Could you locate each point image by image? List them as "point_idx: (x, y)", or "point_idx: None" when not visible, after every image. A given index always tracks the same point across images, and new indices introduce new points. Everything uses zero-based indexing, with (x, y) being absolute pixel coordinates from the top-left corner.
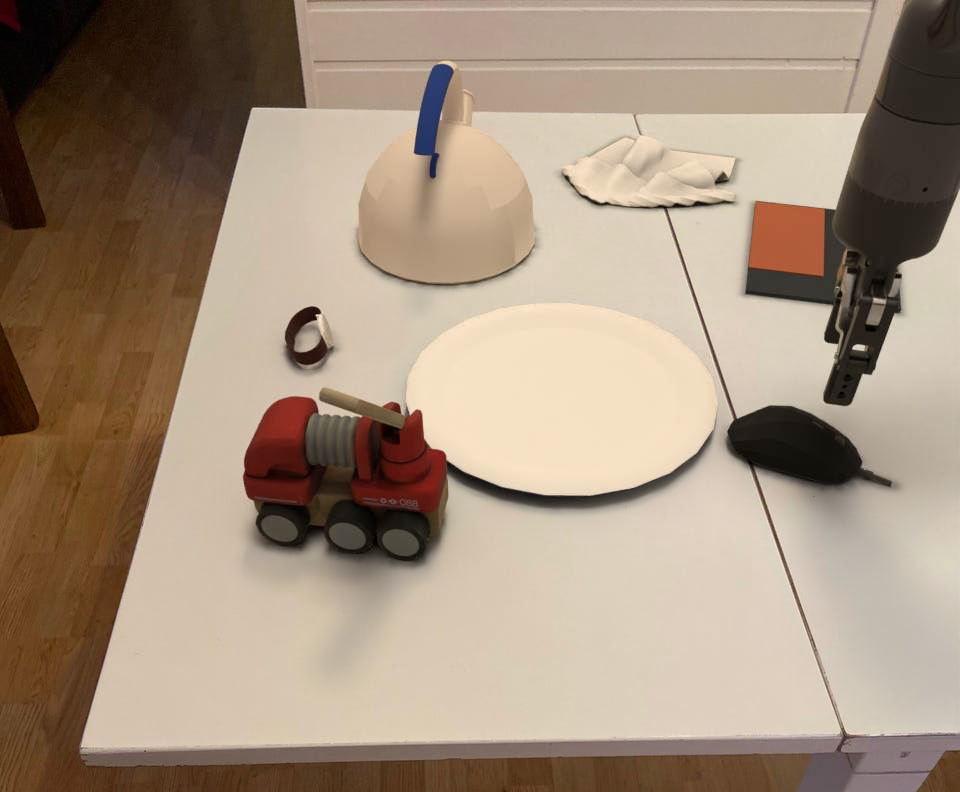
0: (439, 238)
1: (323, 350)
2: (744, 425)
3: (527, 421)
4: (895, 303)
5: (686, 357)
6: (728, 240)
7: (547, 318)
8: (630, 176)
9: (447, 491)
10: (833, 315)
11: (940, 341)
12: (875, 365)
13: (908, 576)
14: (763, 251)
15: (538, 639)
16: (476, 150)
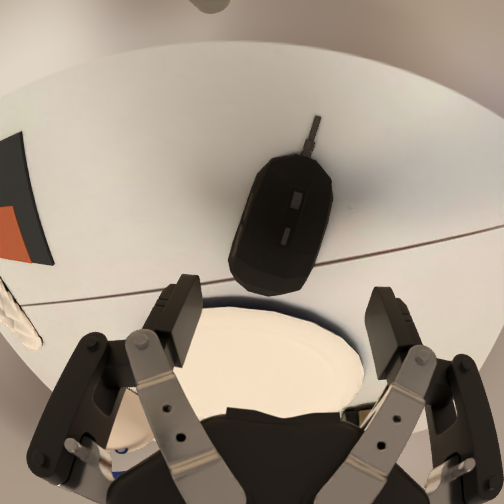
0: (146, 430)
1: None
2: (271, 293)
3: (281, 396)
4: (498, 491)
5: None
6: (18, 271)
7: None
8: (16, 324)
9: (363, 418)
10: (188, 344)
11: (43, 85)
12: (470, 367)
13: (452, 129)
14: (14, 252)
15: (452, 359)
16: None
